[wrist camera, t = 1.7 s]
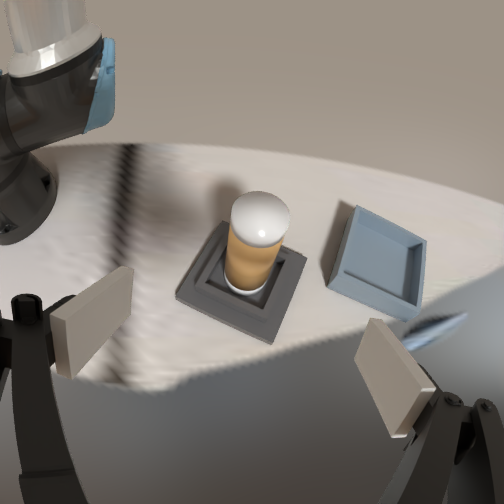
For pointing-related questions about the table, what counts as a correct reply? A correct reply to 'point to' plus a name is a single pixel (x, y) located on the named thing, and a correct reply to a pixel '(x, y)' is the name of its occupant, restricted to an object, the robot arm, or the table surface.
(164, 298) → the table surface
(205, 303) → the block
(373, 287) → the parts tray
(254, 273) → the ball
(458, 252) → the table surface
